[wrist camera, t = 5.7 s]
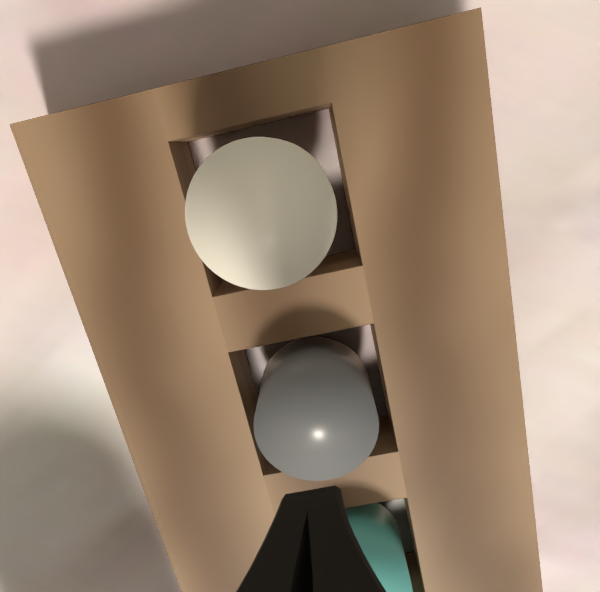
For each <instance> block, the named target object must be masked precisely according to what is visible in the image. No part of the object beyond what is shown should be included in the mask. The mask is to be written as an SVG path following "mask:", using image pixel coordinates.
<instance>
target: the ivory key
mask: <svg viewBox="0 0 600 592" xmlns="http://www.w3.org/2000/svg"><path fill="white" fill-rule="evenodd" d="M185 222H186V227H187V232H188V235H189V238H190V241H191V243H192V245H193V247H194V249H195V251H196V253H197V254H198V256H199V257H200V259H201V260H202V261H203V262H204V263H205V264H206V266H207V267H208V268H209V269H211V270H212V271H213V272H214V273H215V274H217V275H218V276H219V277H221V278H222V279H224V280H226V281H228V282H230V283H232V284H234V285H237V286H240V287H243V288H248V289H254V290H272V289H279V288H282V287H286V286H289V285H291V284H294V283H296V282H298V281H300V280H301V279H303V278H305V277H306V276H307V275H309V274H310V273H311V272H312V271H313V270H314V269H315V268H316V267H317V266H318V265H319V264H320V263H321V262H322V260H323V259H324V258H325V256H326V254H327V253H328V251H329V249H330V247H331V244H332V242H333V239H334V236H335V232H336V226H337V205H336V199H335V195H334V191H333V189H332V186H331V184H330V181H329V179H328V177H327V175H326V173H325V172H324V170H323V168H322V167H321V165H320V164H319V163H318V161H317V160H316V159H315V158H314V157H313V156H312V155H311V154H310V153H309V152H307V151H306V150H305V149H303V148H301V147H300V146H298V145H296V144H294V143H291V142H289V141H286V140H282V139H277V138H269V137H249V138H243V139H239V140H236V141H233V142H230V143H228V144H226V145H224V146H222V147H221V148H219V149H217V150H216V151H214V152H213V153H212V154H211V155H210V156H209V157H207V158H206V159H205V161H204V162H203V163H202V164H201V165H200V166H199V168H198V170H197V171H196V173H195V174H194V176H193V178H192V180H191V182H190V185H189V188H188V191H187V195H186V201H185Z"/></svg>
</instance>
